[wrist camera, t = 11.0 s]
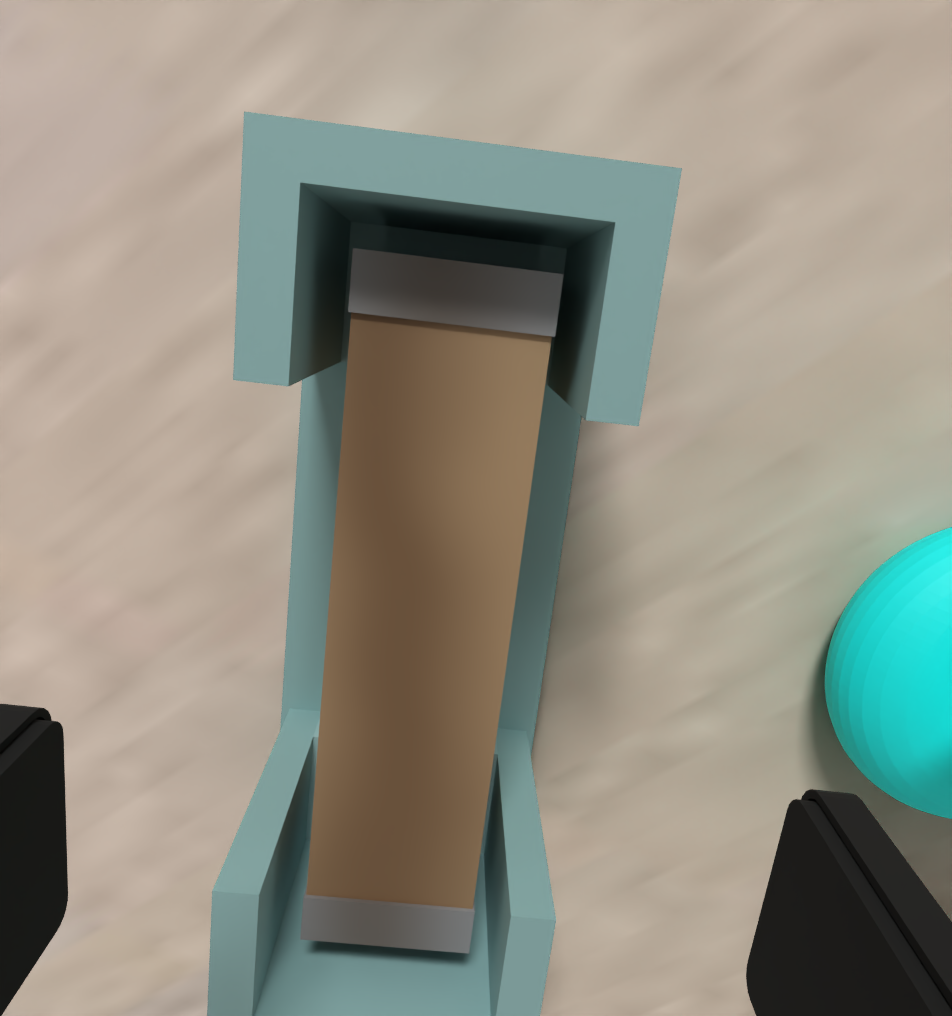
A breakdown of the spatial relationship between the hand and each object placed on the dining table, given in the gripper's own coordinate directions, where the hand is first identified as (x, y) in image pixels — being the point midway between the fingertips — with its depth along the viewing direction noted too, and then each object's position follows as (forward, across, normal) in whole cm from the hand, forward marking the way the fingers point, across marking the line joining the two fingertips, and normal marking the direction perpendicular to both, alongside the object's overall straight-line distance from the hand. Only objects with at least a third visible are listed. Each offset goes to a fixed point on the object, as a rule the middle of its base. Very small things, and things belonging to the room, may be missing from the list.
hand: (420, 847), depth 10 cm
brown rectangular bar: (+12, +1, +1) cm, 12 cm away
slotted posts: (+15, +1, +1) cm, 15 cm away
